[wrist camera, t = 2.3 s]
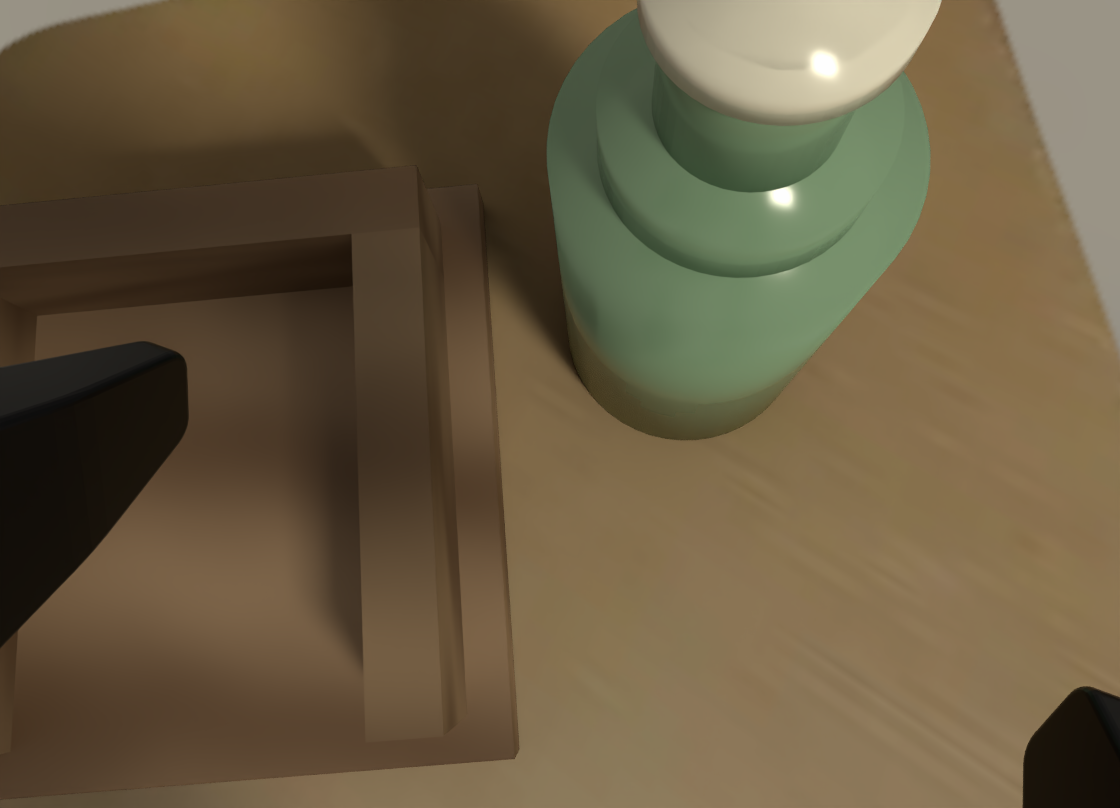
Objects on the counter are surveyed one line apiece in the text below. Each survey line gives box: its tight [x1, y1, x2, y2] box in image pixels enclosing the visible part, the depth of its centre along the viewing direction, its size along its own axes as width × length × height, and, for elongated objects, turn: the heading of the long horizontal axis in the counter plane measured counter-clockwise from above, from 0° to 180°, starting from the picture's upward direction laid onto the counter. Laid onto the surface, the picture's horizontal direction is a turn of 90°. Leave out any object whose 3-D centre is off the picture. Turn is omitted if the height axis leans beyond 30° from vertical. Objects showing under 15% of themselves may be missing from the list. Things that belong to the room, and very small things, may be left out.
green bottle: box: [547, 0, 942, 440], centre depth 16 cm, size 6×6×13 cm
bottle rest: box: [0, 165, 519, 799], centre depth 20 cm, size 14×14×4 cm
